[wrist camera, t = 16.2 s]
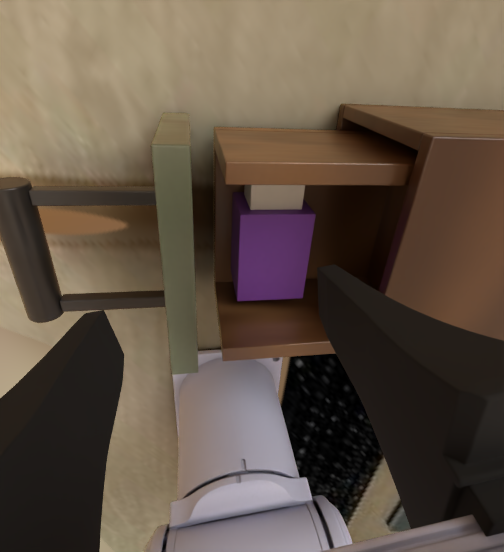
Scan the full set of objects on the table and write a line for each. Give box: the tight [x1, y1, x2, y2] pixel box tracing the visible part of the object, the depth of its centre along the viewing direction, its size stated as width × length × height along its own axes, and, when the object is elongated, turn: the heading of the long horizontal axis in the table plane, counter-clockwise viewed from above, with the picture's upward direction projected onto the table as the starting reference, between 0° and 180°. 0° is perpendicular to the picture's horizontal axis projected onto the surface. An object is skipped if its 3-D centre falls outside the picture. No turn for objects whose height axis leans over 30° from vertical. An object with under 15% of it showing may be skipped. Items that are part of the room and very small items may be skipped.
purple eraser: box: [231, 185, 316, 301], centre depth 18 cm, size 6×3×3 cm, turn 177°
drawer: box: [0, 113, 418, 375], centre depth 17 cm, size 19×10×7 cm, turn 87°
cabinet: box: [336, 104, 504, 341], centre depth 19 cm, size 13×11×8 cm
